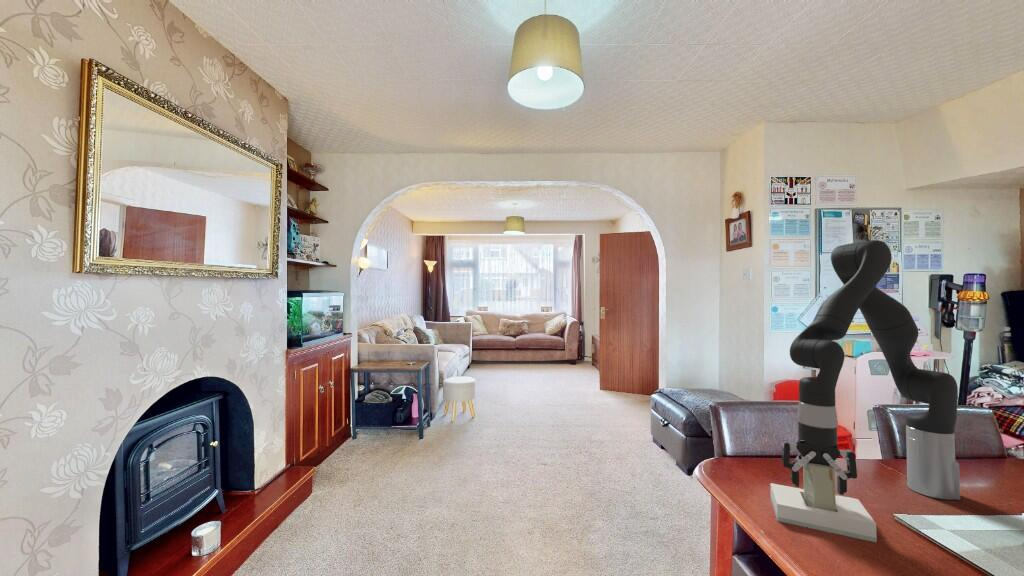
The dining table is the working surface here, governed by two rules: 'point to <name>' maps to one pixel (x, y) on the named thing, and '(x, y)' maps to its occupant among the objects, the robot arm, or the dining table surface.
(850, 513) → the white slotted base
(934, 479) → the robot arm
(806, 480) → the skincare box
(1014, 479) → the dining table surface
